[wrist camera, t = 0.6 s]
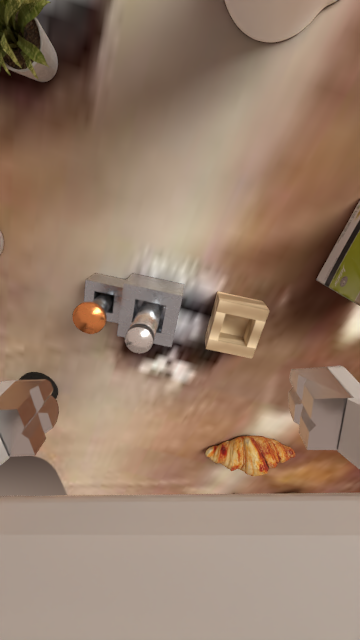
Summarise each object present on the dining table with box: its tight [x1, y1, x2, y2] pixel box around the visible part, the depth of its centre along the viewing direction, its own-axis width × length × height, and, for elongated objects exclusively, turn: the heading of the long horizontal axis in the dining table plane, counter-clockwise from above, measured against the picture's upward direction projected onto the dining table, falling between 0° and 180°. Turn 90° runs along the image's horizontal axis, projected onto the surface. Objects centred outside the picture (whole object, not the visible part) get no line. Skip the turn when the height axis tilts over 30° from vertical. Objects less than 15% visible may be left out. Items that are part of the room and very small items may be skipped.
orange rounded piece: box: [73, 293, 114, 334], centre depth 46 cm, size 5×5×9 cm
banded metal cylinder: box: [125, 301, 163, 353], centre depth 45 cm, size 4×4×14 cm
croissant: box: [205, 436, 295, 476], centre depth 65 cm, size 21×10×8 cm
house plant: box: [0, 0, 58, 82], centre depth 32 cm, size 14×14×16 cm
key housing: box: [84, 273, 126, 323], centre depth 51 cm, size 7×7×5 cm
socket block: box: [117, 273, 184, 347], centre depth 50 cm, size 10×10×7 cm
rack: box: [205, 292, 269, 358], centre depth 52 cm, size 10×9×5 cm
